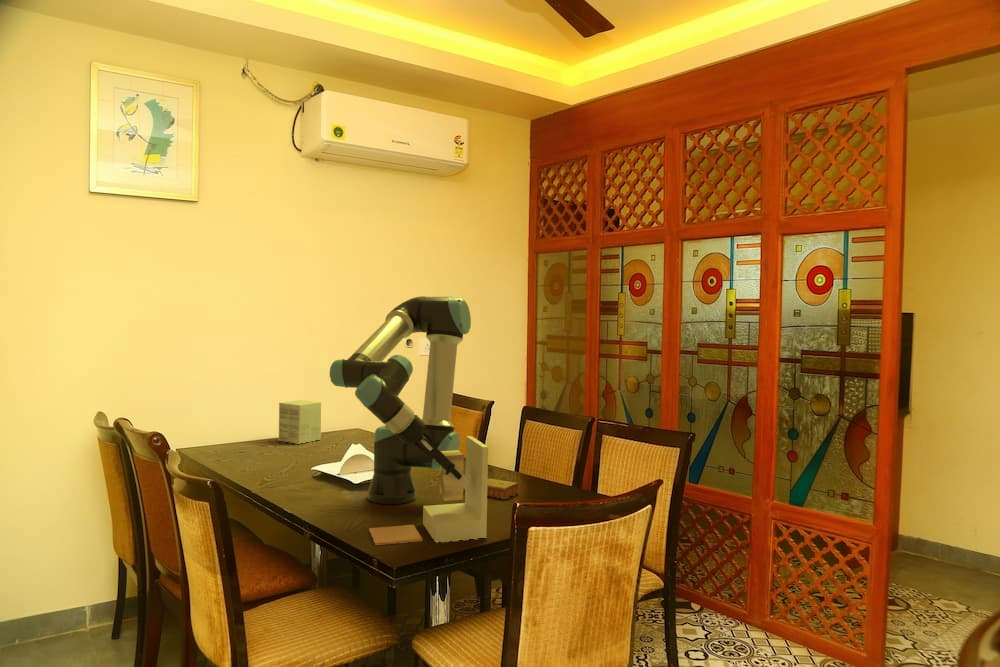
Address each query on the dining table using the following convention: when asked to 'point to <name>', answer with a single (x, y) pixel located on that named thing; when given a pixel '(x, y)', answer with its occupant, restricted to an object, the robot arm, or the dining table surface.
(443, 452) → the maple block
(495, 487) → the carton
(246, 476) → the dining table surface
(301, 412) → the supplement box
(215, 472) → the dining table surface
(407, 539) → the tile pad
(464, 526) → the l-shaped bookend
